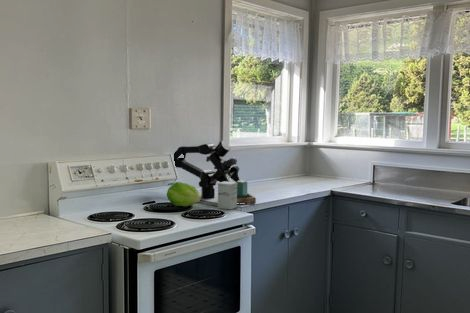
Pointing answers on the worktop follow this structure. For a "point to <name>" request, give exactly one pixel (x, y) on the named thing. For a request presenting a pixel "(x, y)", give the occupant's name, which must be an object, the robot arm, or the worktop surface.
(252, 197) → the box
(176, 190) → the green oval fruit
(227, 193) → the grey stone cylinder
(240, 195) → the tea tin
